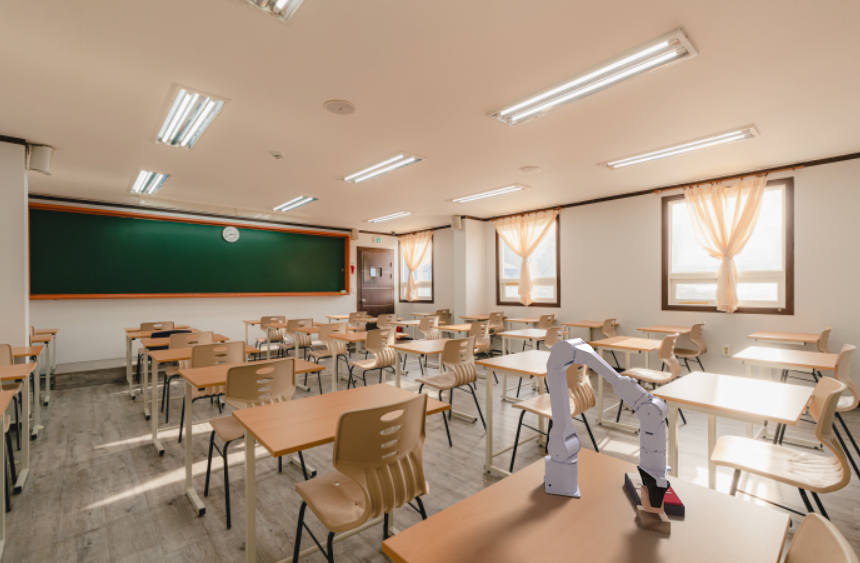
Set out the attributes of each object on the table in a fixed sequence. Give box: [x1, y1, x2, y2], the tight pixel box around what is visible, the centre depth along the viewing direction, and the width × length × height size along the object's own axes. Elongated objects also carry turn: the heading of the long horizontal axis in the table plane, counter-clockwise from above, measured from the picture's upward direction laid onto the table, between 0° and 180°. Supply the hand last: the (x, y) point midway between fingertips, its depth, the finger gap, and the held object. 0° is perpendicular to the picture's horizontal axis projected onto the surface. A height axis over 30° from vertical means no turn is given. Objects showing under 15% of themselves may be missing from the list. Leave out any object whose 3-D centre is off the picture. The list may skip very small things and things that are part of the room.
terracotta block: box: [641, 485, 664, 514], centre depth 97 cm, size 4×4×4 cm
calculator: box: [624, 472, 686, 517], centre depth 109 cm, size 11×4×15 cm
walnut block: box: [636, 505, 672, 534], centre depth 97 cm, size 6×6×3 cm
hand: (652, 502), depth 97 cm, fingers closed on terracotta block, 4 cm apart
